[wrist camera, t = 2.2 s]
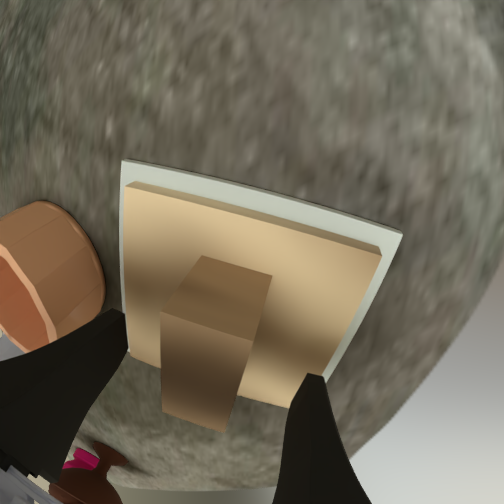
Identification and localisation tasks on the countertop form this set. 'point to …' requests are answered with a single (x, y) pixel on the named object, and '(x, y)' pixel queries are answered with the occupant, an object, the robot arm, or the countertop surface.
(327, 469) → the robot arm
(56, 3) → the countertop surface
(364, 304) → the mat
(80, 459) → the pepper mill
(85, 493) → the ice cream bowl
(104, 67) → the countertop surface
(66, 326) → the bowl
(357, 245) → the lid
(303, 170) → the countertop surface
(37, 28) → the countertop surface
